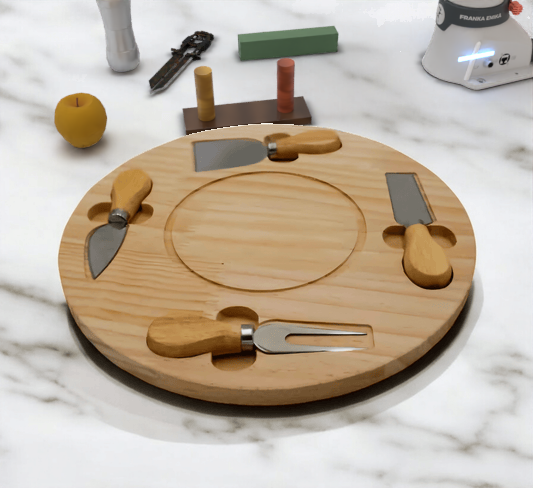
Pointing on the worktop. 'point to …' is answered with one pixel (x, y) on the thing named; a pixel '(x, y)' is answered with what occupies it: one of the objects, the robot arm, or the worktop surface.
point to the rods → (246, 104)
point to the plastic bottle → (119, 34)
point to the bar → (287, 43)
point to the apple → (80, 119)
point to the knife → (184, 61)
